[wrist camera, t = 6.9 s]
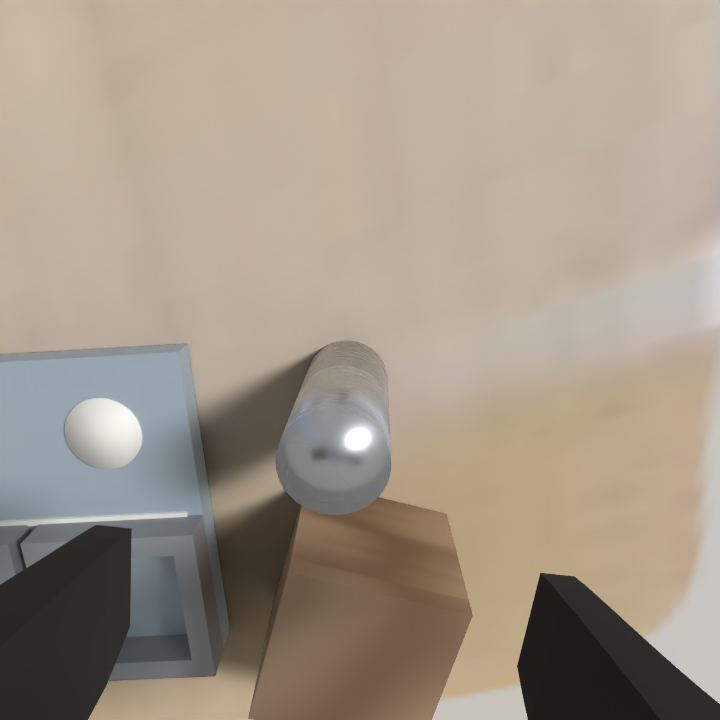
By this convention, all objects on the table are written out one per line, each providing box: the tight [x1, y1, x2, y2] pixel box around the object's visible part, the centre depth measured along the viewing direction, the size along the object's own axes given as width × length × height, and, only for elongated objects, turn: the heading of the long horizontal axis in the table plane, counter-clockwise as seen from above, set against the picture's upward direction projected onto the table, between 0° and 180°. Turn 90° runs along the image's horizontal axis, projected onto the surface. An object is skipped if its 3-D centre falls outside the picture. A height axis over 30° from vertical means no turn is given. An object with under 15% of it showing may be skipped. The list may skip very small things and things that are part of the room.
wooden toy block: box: [248, 497, 473, 720], centre depth 18 cm, size 5×5×5 cm
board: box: [0, 344, 230, 681], centre depth 19 cm, size 11×12×4 cm
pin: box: [276, 341, 391, 515], centre depth 16 cm, size 3×3×6 cm
